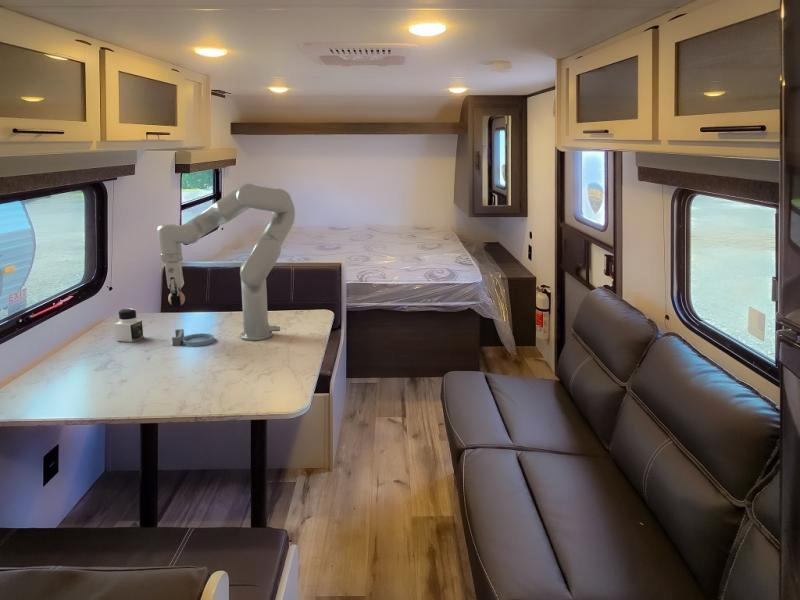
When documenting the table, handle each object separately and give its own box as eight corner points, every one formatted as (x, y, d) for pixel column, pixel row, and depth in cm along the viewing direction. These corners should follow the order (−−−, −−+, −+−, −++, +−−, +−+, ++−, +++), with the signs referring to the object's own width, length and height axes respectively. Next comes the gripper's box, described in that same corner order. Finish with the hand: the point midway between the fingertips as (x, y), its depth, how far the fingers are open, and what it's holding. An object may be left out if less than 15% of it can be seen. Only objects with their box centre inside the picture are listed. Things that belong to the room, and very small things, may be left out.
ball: (186, 303, 227) (184, 288, 226) (185, 307, 221) (183, 291, 220) (170, 305, 226) (168, 289, 224) (168, 308, 220) (166, 293, 219)
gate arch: (184, 336, 233) (183, 329, 233) (181, 345, 222) (180, 337, 221) (176, 336, 232) (175, 329, 232) (172, 345, 221) (172, 338, 220)
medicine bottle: (132, 342, 225) (129, 312, 222) (115, 341, 226) (112, 311, 224) (143, 337, 232) (141, 307, 229) (127, 336, 233) (124, 306, 230)
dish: (215, 336, 233) (214, 332, 233) (213, 345, 222) (213, 340, 222) (183, 338, 230) (182, 334, 230) (180, 347, 219) (179, 343, 219)
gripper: (179, 260, 212) (185, 308, 216) (184, 253, 228) (190, 298, 232) (157, 261, 210) (163, 310, 214) (164, 255, 226) (170, 300, 231)
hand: (177, 303), depth 223 cm, fingers closed on ball, 5 cm apart
